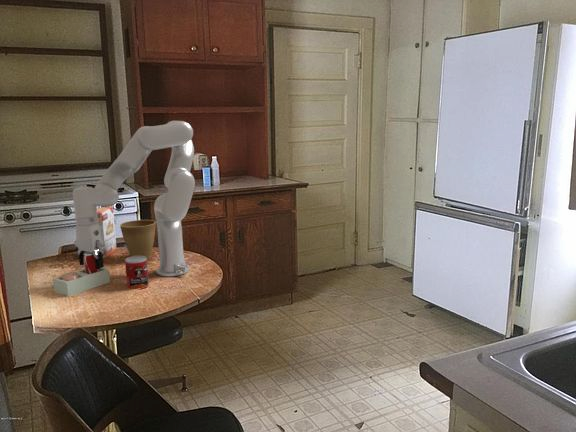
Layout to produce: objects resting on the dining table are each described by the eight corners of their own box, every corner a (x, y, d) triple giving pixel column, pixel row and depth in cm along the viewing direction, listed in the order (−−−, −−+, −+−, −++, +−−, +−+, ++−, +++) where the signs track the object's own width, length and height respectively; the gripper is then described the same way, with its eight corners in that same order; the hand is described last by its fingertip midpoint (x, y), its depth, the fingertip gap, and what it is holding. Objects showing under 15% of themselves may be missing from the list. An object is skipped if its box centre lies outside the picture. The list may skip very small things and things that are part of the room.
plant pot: (165, 255, 224) (162, 220, 220) (143, 265, 210) (140, 228, 207) (138, 252, 230) (135, 218, 226) (115, 261, 216) (112, 225, 213)
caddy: (110, 284, 188) (108, 269, 187) (68, 298, 174) (66, 282, 173) (96, 280, 193) (94, 265, 192) (54, 293, 179) (52, 278, 178)
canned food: (129, 292, 179) (126, 262, 177) (125, 285, 186) (123, 257, 184) (151, 288, 183) (148, 259, 180) (146, 281, 190) (144, 254, 187)
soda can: (96, 285, 184) (93, 254, 182) (83, 285, 185) (79, 254, 183) (103, 280, 189) (100, 250, 187) (90, 280, 190) (87, 249, 188)
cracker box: (106, 258, 220) (102, 212, 216) (93, 259, 220) (88, 212, 216) (117, 250, 234) (113, 206, 230) (105, 250, 234) (100, 206, 230)
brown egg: (82, 289, 180) (80, 273, 179) (69, 294, 176) (67, 278, 175) (73, 287, 183) (72, 271, 182) (60, 291, 179) (58, 275, 178)
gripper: (110, 221, 180) (115, 267, 184) (81, 216, 190) (86, 260, 193) (92, 225, 174) (97, 272, 178) (63, 220, 184) (68, 265, 187)
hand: (91, 266), depth 186 cm, fingers open, 9 cm apart
